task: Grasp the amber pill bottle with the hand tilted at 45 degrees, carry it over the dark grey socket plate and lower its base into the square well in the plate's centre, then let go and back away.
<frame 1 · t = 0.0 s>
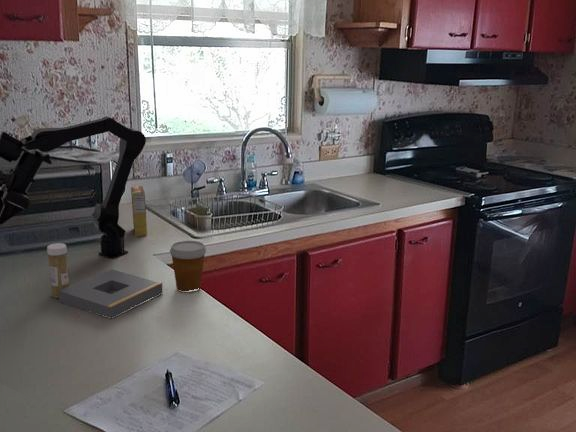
socket plate: (111, 297, 155), on the worktop
disposable coffee cup: (188, 288, 163), on the worktop
candy box: (139, 232, 209), on the worktop
amber pill bottle: (60, 295, 156), on the worktop
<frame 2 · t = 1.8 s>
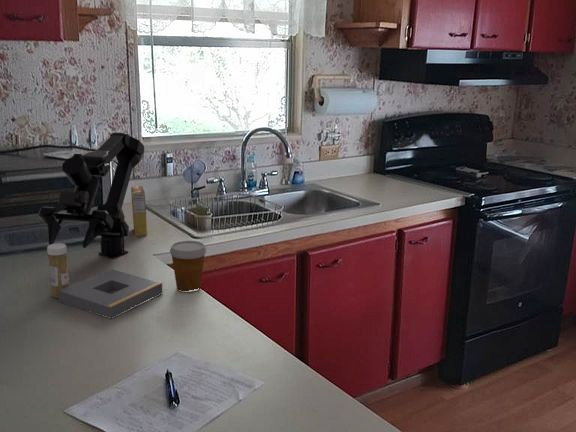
hand: (66, 246, 157), 12 cm above the worktop, tool tilted 45°, fingers open, 9 cm apart
nothing on the worktop moved.
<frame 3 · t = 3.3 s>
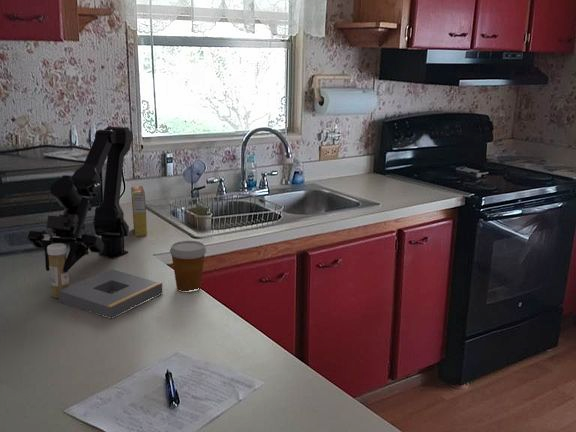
hand: (55, 271, 153), 7 cm above the worktop, tool tilted 45°, fingers closed on amber pill bottle, 4 cm apart
amber pill bottle: (60, 295, 156), on the worktop, touching gripper
everything else where it was.
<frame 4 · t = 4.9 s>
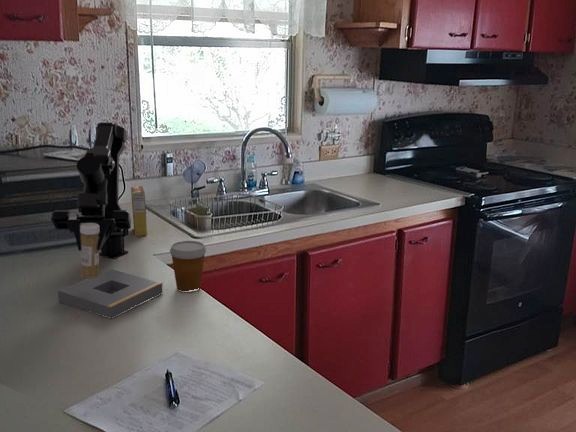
hand: (89, 250, 150), 13 cm above the worktop, tool tilted 45°, fingers closed on amber pill bottle, 4 cm apart
amber pill bottle: (89, 276, 153), point 6 cm above the worktop, touching gripper
everything else where it was.
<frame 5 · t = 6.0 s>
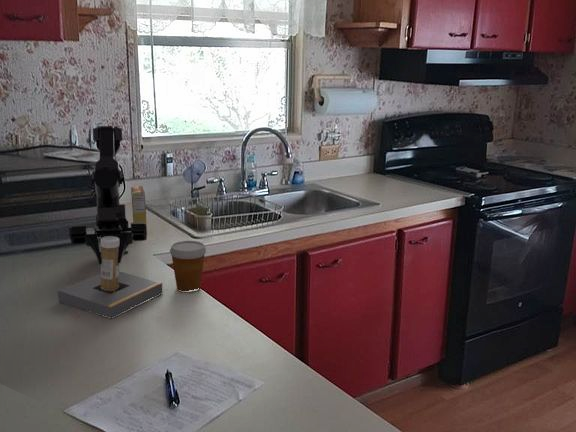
hand: (109, 263, 151), 10 cm above the worktop, tool tilted 45°, fingers closed on amber pill bottle, 4 cm apart
amber pill bottle: (109, 289, 155), point 2 cm above the worktop, touching gripper
everything else where it was.
when the fingers open (8 cm above the worktop, at t = 6.7 s): amber pill bottle stays where it is, resting in socket plate.
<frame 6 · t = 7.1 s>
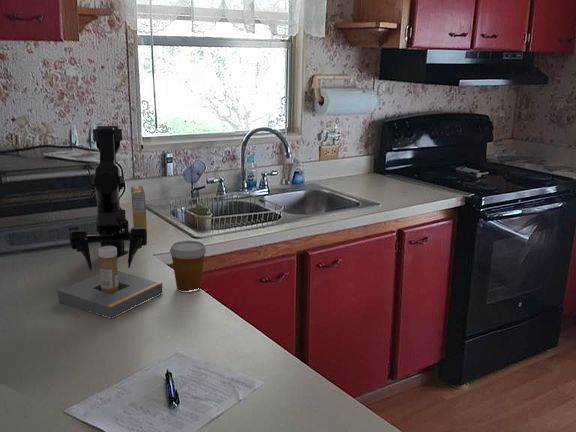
hand: (110, 268, 151), 9 cm above the worktop, tool tilted 45°, fingers open, 9 cm apart
amber pill bottle: (110, 298, 155), resting in socket plate
everything else where it was.
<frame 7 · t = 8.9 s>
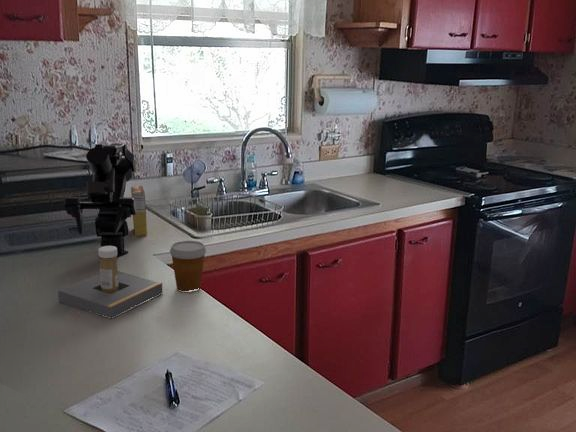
hand: (97, 233, 164), 13 cm above the worktop, tool tilted 45°, fingers open, 9 cm apart
nothing on the worktop moved.
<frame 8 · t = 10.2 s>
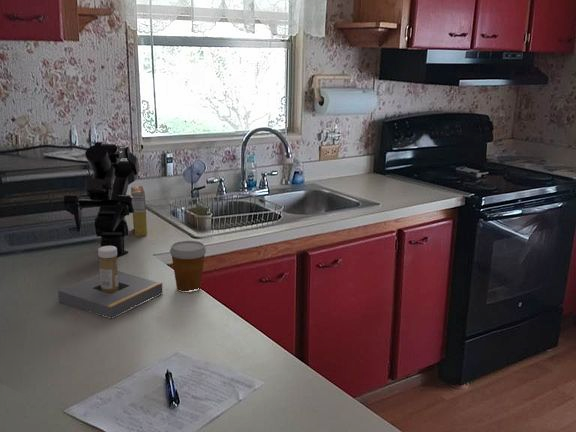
hand: (95, 230, 164), 14 cm above the worktop, tool tilted 45°, fingers open, 9 cm apart
nothing on the worktop moved.
at the end: amber pill bottle 0.4 cm off-centre on the socket plate, point 0.0 cm above the socket plate's base; amber pill bottle tilted 0°; the gripper is holding nothing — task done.
